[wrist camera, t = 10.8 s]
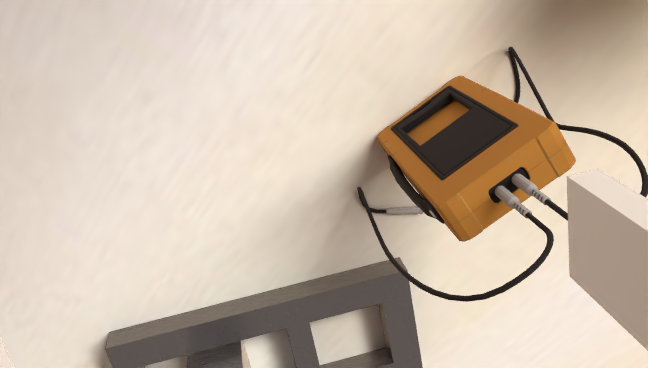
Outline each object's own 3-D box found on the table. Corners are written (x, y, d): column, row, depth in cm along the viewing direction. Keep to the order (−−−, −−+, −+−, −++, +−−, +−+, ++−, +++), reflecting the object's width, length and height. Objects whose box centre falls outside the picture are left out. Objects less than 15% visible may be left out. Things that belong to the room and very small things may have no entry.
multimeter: (405, 262, 47) (530, 464, 29) (331, 165, 43) (421, 327, 25) (565, 148, 46) (802, 282, 28) (504, 38, 42) (732, 109, 24)
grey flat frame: (109, 332, 45) (105, 348, 43) (399, 257, 47) (407, 270, 45) (150, 435, 49) (147, 454, 47) (416, 362, 51) (424, 378, 49)
